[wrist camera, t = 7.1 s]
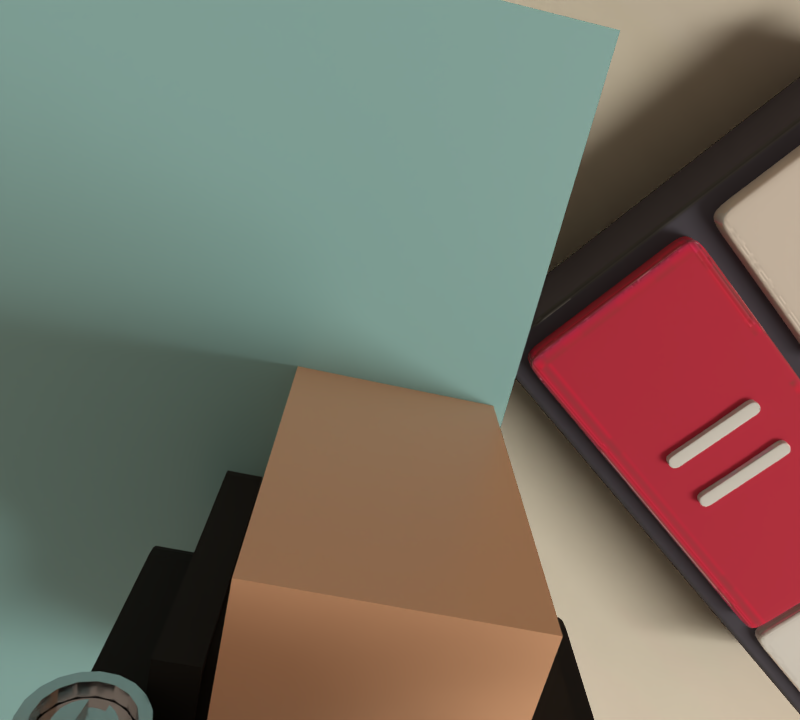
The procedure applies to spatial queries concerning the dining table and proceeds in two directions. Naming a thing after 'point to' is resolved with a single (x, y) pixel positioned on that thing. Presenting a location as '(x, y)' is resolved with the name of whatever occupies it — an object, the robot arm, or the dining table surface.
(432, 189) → the lid
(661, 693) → the dining table surface
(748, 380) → the calculator
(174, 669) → the robot arm
